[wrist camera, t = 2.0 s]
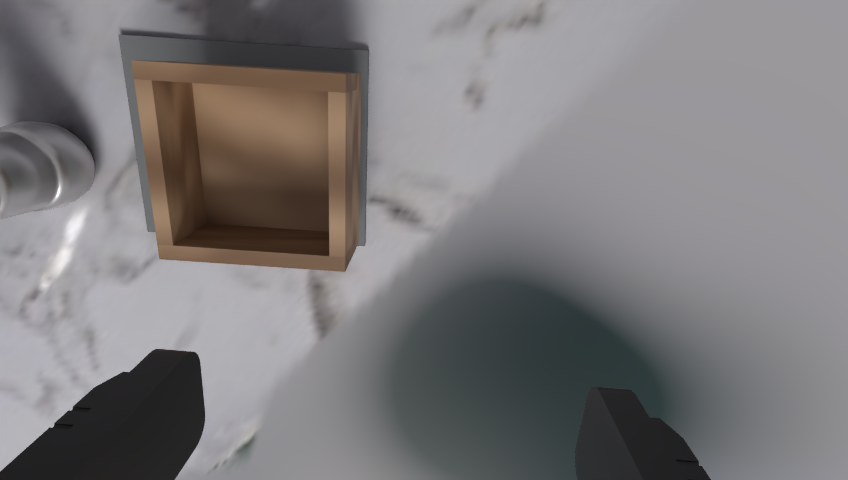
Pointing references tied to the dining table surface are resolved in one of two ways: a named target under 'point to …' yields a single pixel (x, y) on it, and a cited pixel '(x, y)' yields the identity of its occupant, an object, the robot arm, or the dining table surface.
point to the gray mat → (246, 56)
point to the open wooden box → (252, 162)
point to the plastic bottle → (41, 168)
